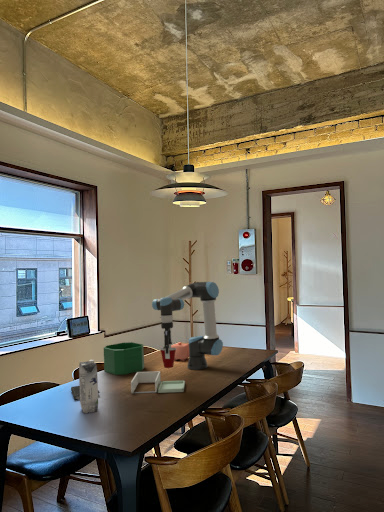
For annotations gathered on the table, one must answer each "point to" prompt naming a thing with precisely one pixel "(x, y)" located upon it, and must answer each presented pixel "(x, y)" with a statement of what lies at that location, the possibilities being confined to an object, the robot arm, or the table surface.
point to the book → (76, 392)
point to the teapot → (181, 351)
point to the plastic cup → (170, 362)
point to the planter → (123, 358)
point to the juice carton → (88, 386)
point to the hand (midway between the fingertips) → (168, 356)
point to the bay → (146, 380)
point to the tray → (171, 386)
